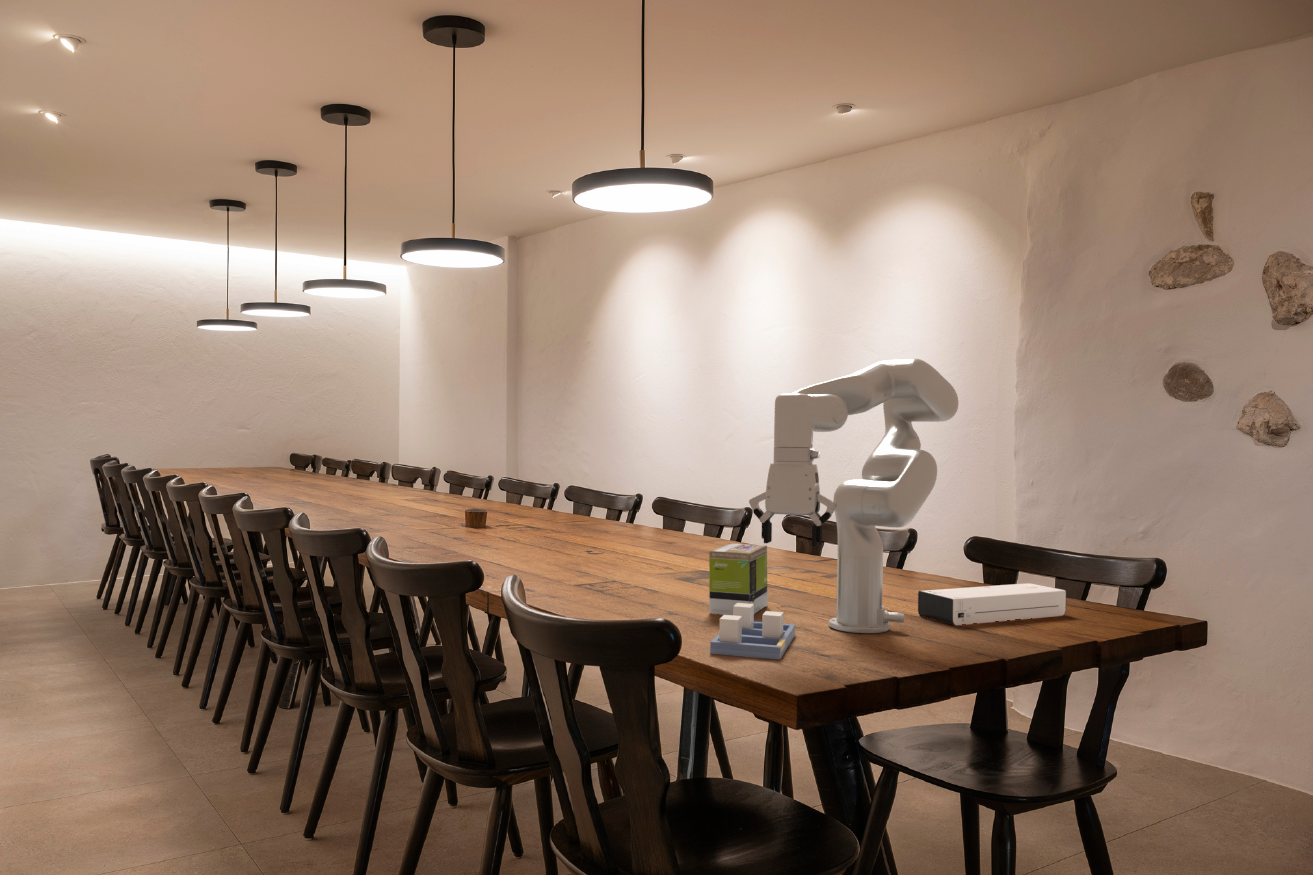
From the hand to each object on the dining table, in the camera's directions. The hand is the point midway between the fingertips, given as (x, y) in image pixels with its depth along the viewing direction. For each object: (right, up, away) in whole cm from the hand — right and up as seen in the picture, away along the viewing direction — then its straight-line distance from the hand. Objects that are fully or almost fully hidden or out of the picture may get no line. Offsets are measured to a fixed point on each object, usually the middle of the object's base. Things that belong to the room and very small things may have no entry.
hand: (791, 544), depth 176 cm
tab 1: (-12, -18, -5) cm, 23 cm away
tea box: (-7, -20, +34) cm, 40 cm away
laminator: (+51, -21, +31) cm, 64 cm away
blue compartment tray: (-7, -20, 0) cm, 21 cm away
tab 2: (-9, -18, +7) cm, 21 cm away
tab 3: (-4, -18, -1) cm, 19 cm away
